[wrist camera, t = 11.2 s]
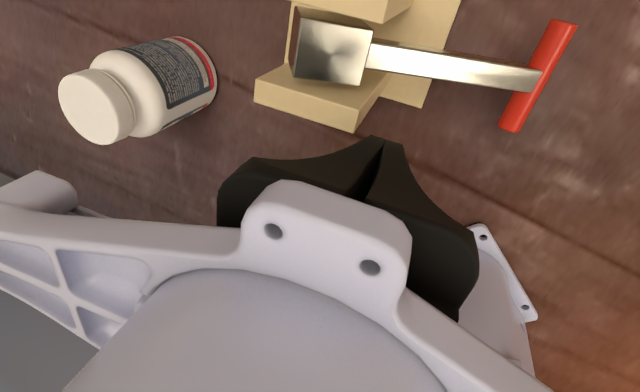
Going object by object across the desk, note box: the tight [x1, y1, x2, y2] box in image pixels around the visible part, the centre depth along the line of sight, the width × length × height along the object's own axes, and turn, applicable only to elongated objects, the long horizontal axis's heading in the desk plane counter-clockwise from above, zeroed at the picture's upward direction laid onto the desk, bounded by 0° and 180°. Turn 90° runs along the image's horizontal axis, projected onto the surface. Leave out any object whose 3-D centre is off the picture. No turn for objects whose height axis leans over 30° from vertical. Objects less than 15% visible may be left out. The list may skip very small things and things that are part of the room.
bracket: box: [254, 0, 461, 133], centre depth 17 cm, size 9×7×10 cm
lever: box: [288, 6, 578, 133], centre depth 15 cm, size 12×5×2 cm, turn 79°
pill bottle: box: [58, 36, 217, 145], centre depth 23 cm, size 5×5×9 cm
